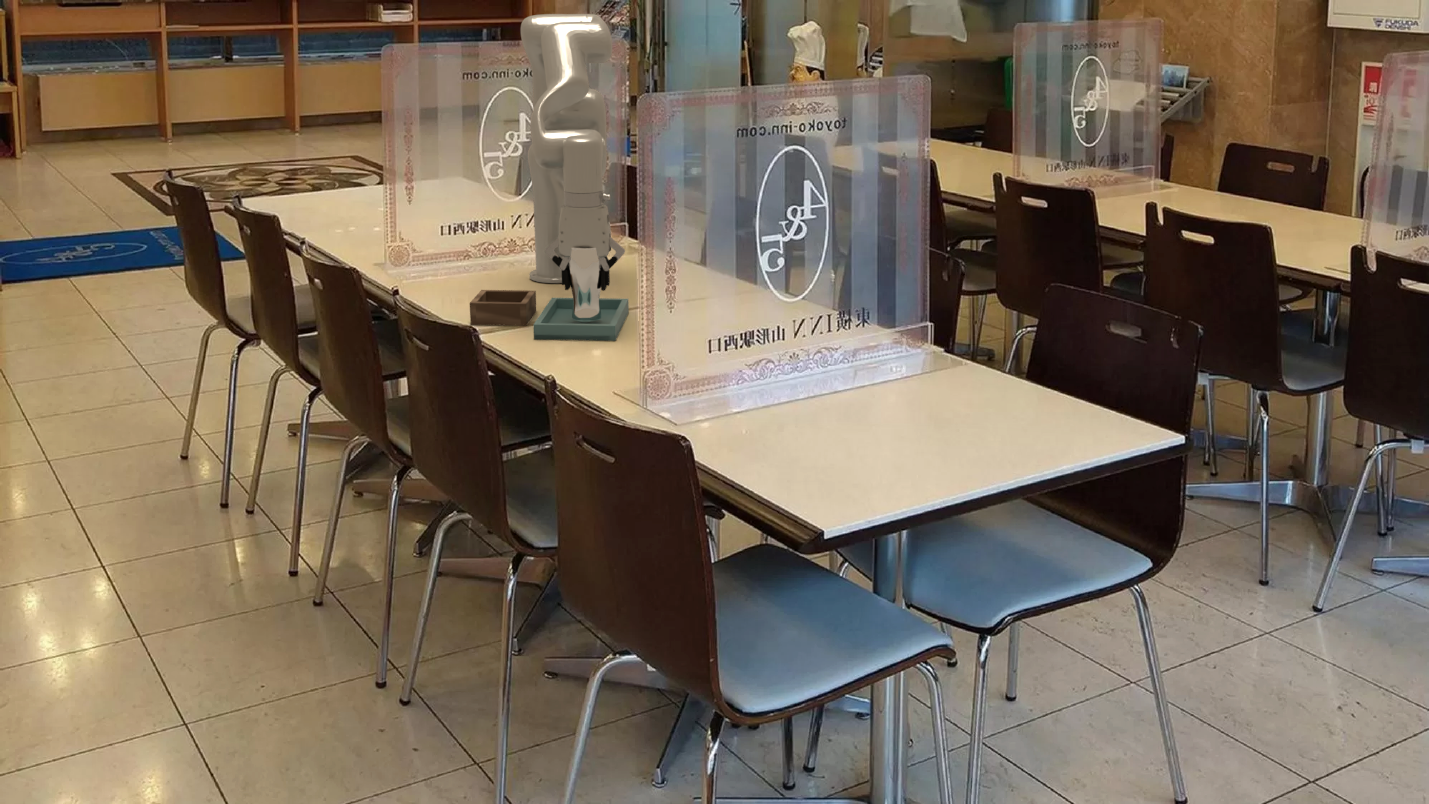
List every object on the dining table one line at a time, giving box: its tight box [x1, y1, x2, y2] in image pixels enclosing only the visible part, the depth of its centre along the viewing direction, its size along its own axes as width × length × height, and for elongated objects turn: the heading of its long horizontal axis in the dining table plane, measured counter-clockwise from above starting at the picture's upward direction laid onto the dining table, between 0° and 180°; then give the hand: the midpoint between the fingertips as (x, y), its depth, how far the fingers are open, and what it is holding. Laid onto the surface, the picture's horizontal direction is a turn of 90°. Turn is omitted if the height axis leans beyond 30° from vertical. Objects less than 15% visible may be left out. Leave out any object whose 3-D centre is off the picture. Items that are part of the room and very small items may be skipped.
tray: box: [532, 297, 630, 342], centre depth 300 cm, size 22×16×3 cm
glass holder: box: [469, 289, 537, 327], centre depth 306 cm, size 11×11×4 cm
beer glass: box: [568, 247, 602, 322], centre depth 297 cm, size 7×7×15 cm
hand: (585, 288), depth 297 cm, fingers closed on beer glass, 6 cm apart
